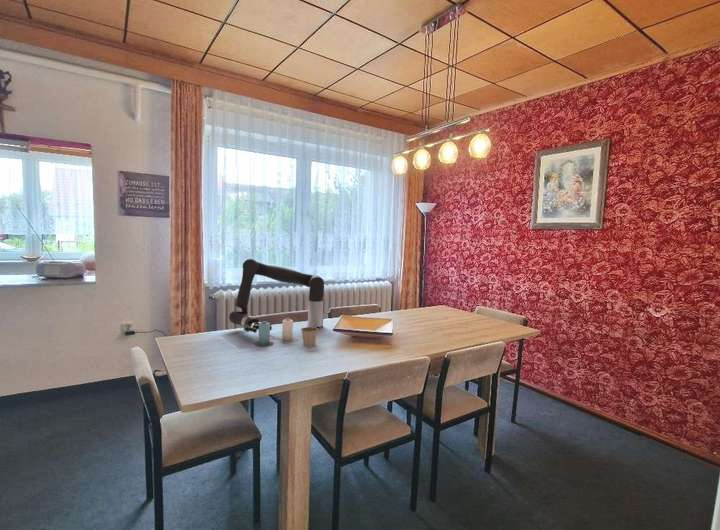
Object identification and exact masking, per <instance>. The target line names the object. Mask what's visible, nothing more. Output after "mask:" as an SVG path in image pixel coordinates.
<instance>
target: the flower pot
mask: <svg viewBox="0 0 720 530" xmlns="http://www.w3.org/2000/svg"><path fill="white" fill-rule="evenodd" d="M300 331H301V334H302V343H303V345H304V346H308V347H309V346H310V347H312V346H315V345H316V339H317V334H318V331H319V328H314V327H308V326H307V327H306V326H305V327H302V328H300Z"/></svg>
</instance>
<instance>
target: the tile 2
mask: <svg viewBox="0 0 720 530" xmlns="http://www.w3.org/2000/svg"><path fill="white" fill-rule="evenodd" d="M276 338H277V339H275V340H276V341H278V342H279V343H282V344H289V343H294V342H299V341H300V340H299V339H297V338H295V337H293V336H292V340H291V341H283V340H282V337H276Z"/></svg>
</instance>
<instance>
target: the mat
mask: <svg viewBox="0 0 720 530" xmlns="http://www.w3.org/2000/svg"><path fill="white" fill-rule="evenodd" d="M274 344H275V343H274V342H272V340H270V341H269V344H268V345H259V341H256V342H255V343H254V344H253V345H254V346H255V347H259V348H267V347H271V346H274Z"/></svg>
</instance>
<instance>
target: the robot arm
mask: <svg viewBox="0 0 720 530" xmlns="http://www.w3.org/2000/svg"><path fill="white" fill-rule="evenodd" d="M255 275H256V276H261V277H266V278H268V279H271V280H275V281H277V282H280V283H285V284H293V285H302V286H305V287H308V288H309V293H308V294H309V295H308V305H307V307H308V310H307V327H314V328H317V327H320V328H322V327H324V311H323V309H324V308H323V303H324V301H323V300H324V295H325V281H324V279H323V277H321V276H319V275H316V274H308V273H303V272H300V271H297V270H296V269H295V270H294V269H291V268H287V267H284V266H280V265H279V266H278V265H270V264H265V263H262V262H259V261H256V260H255V259H253V258H247V259H246V260H244V261H243V263H242V275H241V276H242V277H241V282H240V285H239V289H238V292H237V296H236V299H235V300H236V301H235V307H236V308H239V309H241V311H237V310H232V311H231V312H230V314H229V316H228V318H229V322H230V323H232V324H236V325H240V326H241V327H242V328H243V331H244V332H247V333H248V332H252V333H254V334H256V333H258V332H257V331H259V323H261V321H260V320H259V319H258V318H257V317H254V316H253V315H249V313H248V311H249V310H248V306H249V305H248V304H249V301H250V296H251V291H252V285H253V282H254V279H255ZM269 323H270V322H269ZM321 326H322V327H321ZM317 329H318V328H317ZM272 330H273V327H272V323H270V331H272Z"/></svg>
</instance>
